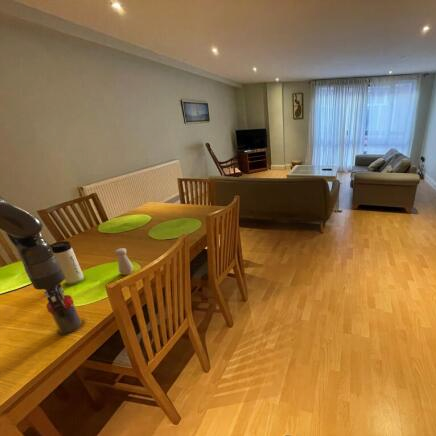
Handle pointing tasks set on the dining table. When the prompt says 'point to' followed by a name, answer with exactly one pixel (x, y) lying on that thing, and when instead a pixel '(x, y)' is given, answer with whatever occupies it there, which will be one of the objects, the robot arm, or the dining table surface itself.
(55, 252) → the travel mug
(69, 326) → the jar
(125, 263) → the salt shaker
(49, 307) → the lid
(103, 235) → the dining table surface
